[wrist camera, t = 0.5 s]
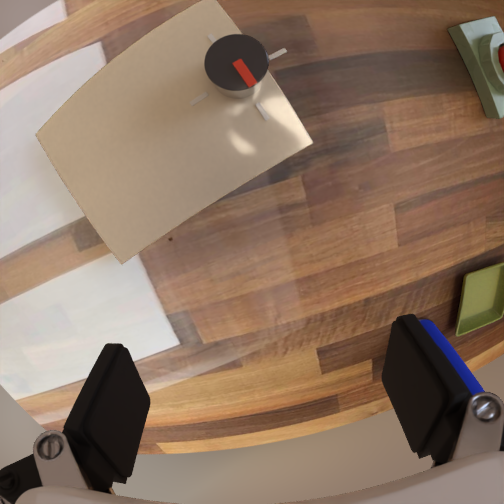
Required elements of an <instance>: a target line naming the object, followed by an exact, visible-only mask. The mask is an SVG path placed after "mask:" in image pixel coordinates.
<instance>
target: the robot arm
mask: <svg viewBox="0 0 504 504" xmlns="http://www.w3.org/2000/svg"><path fill="white" fill-rule="evenodd" d="M382 382H383V385H384V387H385V389H386V392H387V394H388V396H389V398H390V401H391V403H392V405H393V407H394V409H395V412H396V414H397V417H398V419H399V421H400V423H401V426H402V428H403V431H404V433H405V435H406V438H407V440H408V443H409V445H410V448H411V450H412V451H413V452H414V453H415V452H417V454H418V456H419V459H420V458H423V457H426V456H428V455H431V457H432V459H433V460H434V461H433V464H432V466H431V469H429V470H426V471H423V472H420V473H417V474H414V475H412V476H409V477H405V478H402V479H399V480H395V481H392V482H389V483H386V484H382V485H378V486H375V487H371V488H367V489H363V490H358V491H354V492H350V493H345V494H340V495H335V496H329V497H324V498H317V499H311V500H304V501H296V502H288V503H277V504H504V404H503V401H502V400H501V399H500V398H499V397H498V396H497V395H495V394H493V393H490V392H479V393H476V394H475V395H472V393H471V392H470V390H469V389H468V387H467V386H466V384H465V383H464V381H463V380H462V378H461V377H460V375H459V374H458V373H457V371H456V370H455V368H454V367H453V365H452V364H451V362H450V361H449V360H448V358H447V357H446V355H445V354H444V353H443V351H442V350H441V348H440V347H439V346H438V345H437V344H436V343H435V342H434V340H433V339H432V337H431V336H430V335H429V333H428V332H427V331H426V329H425V328H424V327H423V325H422V324H421V323H420V321H419V320H418V319H417V318H416V316H415V315H414V314H408V315H403V316H399V317H397V319H396V321H394V322H393V323H392V327H391V333H390V338H389V343H388V349H387V353H386V358H385V363H384V367H383V372H382ZM149 407H150V397H149V395H148V393H147V390H146V388H145V386H144V384H143V382H142V380H141V378H140V376H139V373H138V371H137V369H136V367H135V364H134V362H133V360H132V357H131V355H130V353H129V350H128V349H127V348H125V347H124V346H123V345H122V344H110V343H108V344H106V345H105V346H104V348H103V350H102V351H101V353H100V355H99V357H98V359H97V361H96V363H95V364H94V366H93V368H92V370H91V372H90V374H89V376H88V378H87V380H86V382H85V384H84V386H83V388H82V390H81V392H80V394H79V396H78V398H77V400H76V402H75V404H74V406H73V408H72V410H71V412H70V414H69V416H68V418H67V420H66V423H65V425H64V427H63V428H64V430H63V432H60V431H57V430H49V431H46V432H44V433H42V434H41V435H40V436H39V437H38V438H37V439H36V441H35V442H34V446H33V454H32V455H30V456H28V457H25V458H23V459H21V460H19V461H17V462H15V463H13V464H10V465H8V466H6V467H4V468H3V469H1V470H0V504H177V503H165V502H158V501H150V500H143V499H136V498H129V497H124V496H118V495H116V494H115V493H114V491H113V489H112V484H113V482H118V483H123V484H126V481H127V477H130V476H131V475H132V471H133V467H134V463H135V459H136V455H137V452H138V448H139V444H140V440H141V436H142V433H143V429H144V425H145V422H146V418H147V414H148V411H149Z"/></svg>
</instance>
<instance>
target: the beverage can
mask: <svg viewBox="0 0 504 504" xmlns="http://www.w3.org/2000/svg"><path fill="white" fill-rule="evenodd" d="M419 321H420V323H421V324H422V325H423V327H424V328H425V329H426V331H427V332H428V333H429V335H430V336H431V337H432V339H433V340H434V342H435V343H436V344H437V345H438V346H439V347H440V348H441V350H442V351H443V353H444V354H445V355H446V357H447V358H448V360H449V361H450V362H451V364H452V365H453V367H454V368H455V370H456V371H457V373H458V374H459V375H460V377H461V378H462V380H463V381H464V383H465V384H466V386H467V387H468V389H469V390H470V392H471V393H472V395H475V394H476V393H479V392H485V391H484V390H483V388H482V387H481V385H480V384H479V382H478V381H477V380H476V378H475V377H474V375H473V374H472V373H471V371H470V370H469V369H468V367H467V366H466V364H465V363H464V362H463V360H462V359H461V358H460V356H459V355H458V354H457V352H456V351H455V350H454V348H453V347H452V346H451V345H450V343H449V342H448V341H447V339H446V338H445V337H444V336H443V334H442V333H441V332H440V330H439V329H438V328H437V327H436V325H435V324H434V323H433V322H432V321H430V320H426V319H421V320H419Z"/></svg>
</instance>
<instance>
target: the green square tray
mask: <svg viewBox="0 0 504 504" xmlns="http://www.w3.org/2000/svg"><path fill="white" fill-rule="evenodd" d="M503 313H504V262H501V263H498V264H495V265H492V266H489V267H486V268H483V269H480V270H477V271H473V272H470V273H467V274H465V275H464V279H463V286H462V293H461V299H460V304H459V310H458V315H457V320H456V326H455V336H461V335H463V334H466V333H468V332H471V331H473V330H476V329H478V328H480V327H483V326H485V325H488V324H490V323H492V322H495V321H497V320H499V319H501V318H502V316H503Z"/></svg>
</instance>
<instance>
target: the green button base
mask: <svg viewBox="0 0 504 504" xmlns="http://www.w3.org/2000/svg"><path fill="white" fill-rule="evenodd" d="M447 30H448V32H449V33H450V35H451V37H452V39H453V41H454V43H455V45H456V46H457V48H458V50H459V52H460V54H461V56H462V58H463V61H464V63H465V65H466V67H467V69H468V71H469V74H470V76H471V78H472V80H473V83H474V85H475V88H476V90H477V92H478V95H479V98H480V100H481V103H482V105H483V108H484V111H485V114H486V117H487V118H496V119H501V118H502V117H504V72H503V70H502V68H501V65H500V63H499V58H498V51H499V49H500V47H502V46H504V33H503V31H502V29H501V27H500V25H499V23H498V21H497V20H496V18H495V16H492V17H487V18H483V19H479V20H475V21H471V22H467V23H463V24H460V25H457V26H454V27H451V28H448V29H447Z"/></svg>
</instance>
